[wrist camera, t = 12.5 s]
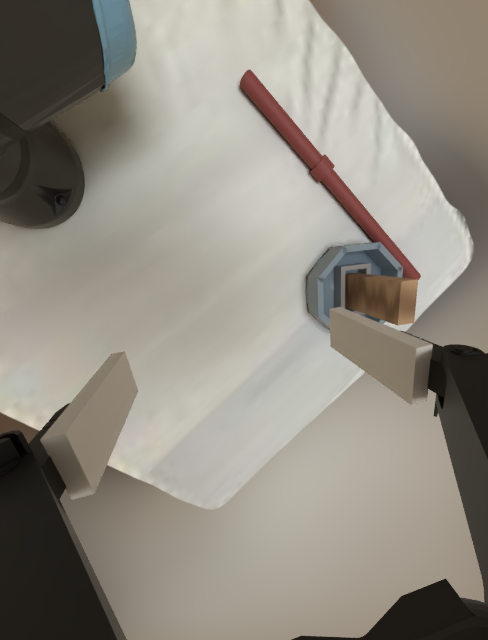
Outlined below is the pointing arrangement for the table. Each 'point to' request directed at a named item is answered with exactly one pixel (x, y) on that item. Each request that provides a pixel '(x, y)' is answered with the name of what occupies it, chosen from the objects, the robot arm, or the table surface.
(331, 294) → the octagonal blue tray
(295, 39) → the table surface
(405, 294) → the flat wood plank
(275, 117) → the rolling pin
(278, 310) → the table surface
